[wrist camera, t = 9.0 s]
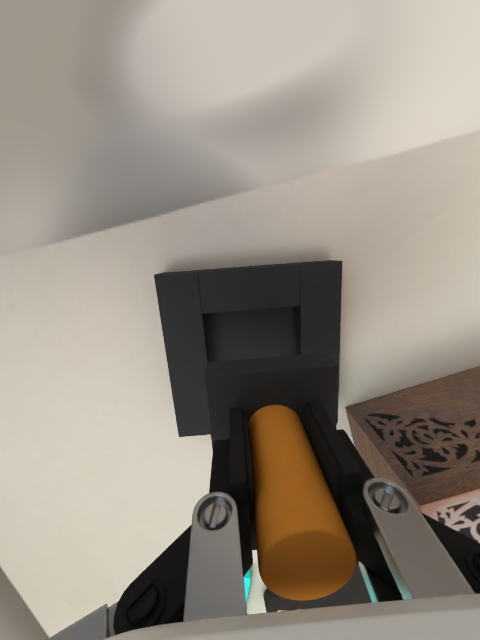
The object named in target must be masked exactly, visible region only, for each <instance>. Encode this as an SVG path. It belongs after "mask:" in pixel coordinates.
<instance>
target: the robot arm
mask: <svg viewBox="0 0 480 640" xmlns="http://www.w3.org/2000/svg"><path fill="white" fill-rule="evenodd" d="M302 413H303V427H304V430H305V432H306V434H307V437H308V439H309V441H310V444H311V446H312V449H313V451H314V453H315V456H316V458H317V460H318V463H319V465H320V468H321V470H322V472H323V475H324V477H325V480H326V482H327V484H328V487H329V489H330V491H331V494H332V496H333V499H334V501H335V503H336V506H337V508H338V510H339V513H340V515H341V518H342V520H343V522H344V525H345V527H346V529H347V532H348V534H349V537H350V539H351V541H352V544H353V546H354V549H355V552H356V560H358V562H359V567H360V570H361V573H362V576H363V579H364V581H365V584H366V587H367V590H368V593H369V595H370V598H371V601H372V603H364V604H354V605H343V606H332V607H322V608H311V609H300V610H290V611H280V612H270V613H260V614H250V615H247V610H246V599H245V587H244V576H245V574H246V573H247V572H248V570H249V569H250V567H251V566H252V565H253V558H252V550H257V543H256V532H255V500H254V487H253V475H252V464H251V454H250V444H249V433H248V423H247V412H246V410H243V411H242V408H241V407H240V408H230V439H222V440H214V447H213V458H212V469H211V479H210V490H209V494H207V495H205V496H204V497H202V498H201V499H200V500H199V501H198V502H197V504H196V506H195V508H194V511H193V515H192V525H191V526H190V527H189V528H188V529H186V530H185V531H184V532H183V533H182V534H181V535H180V536H179V537H178V538H177V539H176V540H175V541H174V542H173V543H172V544H171V545H170V546H169V547H168V548H167V549H166V550H165V551H164V552H163V553H162V554H161V555H160V556H159V557H158V558H157V559H156V560H155V561H154V562H153V563H152V564H150V565H149V566H148V567H147V568H146V569H145V570H144V571H143V572H142V573H141V574H140V575H139V576H138V577H137V578H136V579H135V580H134V581H133V582H132V583H131V584H130V585H129V587H128V588H127V589H126V590H125V591H124V593H123V595H122V596H121V598H120V600H119V601H118V602H117V603H115V604H113V605H112V606H110V607H108V606H107V604H105V605H103V606H102V607H100V608H98V609H97V610H95V611H94V612H92V613H90V614H89V615H87V616H85V617H84V618H82V619H80V620H79V621H77V622H75V623H74V624H72V625H70V626H69V627H67V628H65V629H64V630H62V631H60V632H59V633H57V634H55V635H54V636H52V637H50V638H49V639H47V640H480V543H479V542H477V541H475V540H473V539H471V538H469V537H467V536H465V535H463V534H462V533H460V532H458V531H456V530H454V529H452V528H450V527H448V526H446V525H444V524H442V523H441V522H439V521H437V520H435V519H433V518H431V517H429V516H427V515H425V514H423V513H421V512H420V510H419V509H418V507H417V506H416V504H415V503H414V501H413V500H412V499H411V497H410V496H409V494H408V493H407V492H406V491H405V490H404V489H403V488H402V487H400V486H399V485H398V484H396V483H394V482H392V481H390V480H387V479H383V478H375V477H374V476H373V474H372V473H371V471H370V469H369V468H368V466H367V465H366V463H365V462H364V460H363V459H362V457H361V455H360V454H359V452H358V451H357V449H356V448H355V446H354V445H353V443H352V442H351V440H350V438H349V437H348V435H347V434H346V432H345V431H344V430H337V429H336V428H335V426H334V425H333V423H332V421H331V420H330V418H329V416H328V415H327V413H326V411H325V410H324V408H323V406H322V405H321V403H320V402H319V401H313V402H307V403H306V405H304V406H303V408H302Z"/></svg>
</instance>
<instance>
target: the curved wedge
mask: <svg viewBox="0 0 480 640" xmlns="http://www.w3.org/2000/svg"><path fill="white" fill-rule="evenodd" d="M264 601H265V607H266V611H267V613H270V612H277V611H278V610H286V611H290V610H298V609H311V608H322V607H332V606H343V605H354V604H364V603H372V601H371V598H370V595H369V593H368V590H367V587H366V584H365V581H364V579H363V576H362V573H361V570H360V567H359V562H358V560H356V568H355V571H354V573H353V575H352V577H351V578H350V579H349V581H348V582H347V583H346V584H345V585H344V586H343V587H341V588H340V589H339V590H337V591H336V592H334V593H332V594H330V595H327V596H325V597H322V598H318V599H313V600H292V599H287V598H284V597H281V596H279V595H277V594H275V593H274V592H272V591H271V590H270V589H268V590H267V591H266V592H265V594H264Z"/></svg>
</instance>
